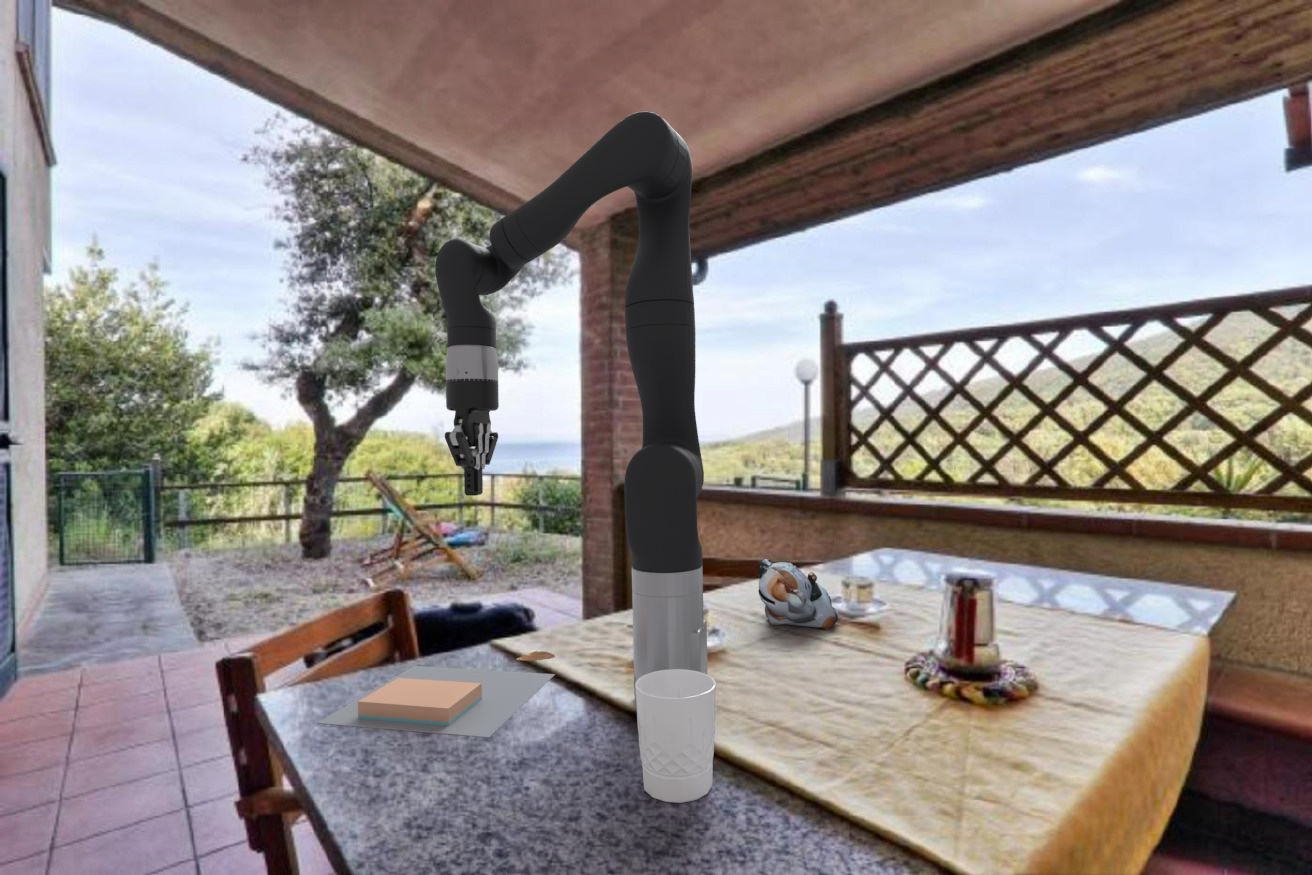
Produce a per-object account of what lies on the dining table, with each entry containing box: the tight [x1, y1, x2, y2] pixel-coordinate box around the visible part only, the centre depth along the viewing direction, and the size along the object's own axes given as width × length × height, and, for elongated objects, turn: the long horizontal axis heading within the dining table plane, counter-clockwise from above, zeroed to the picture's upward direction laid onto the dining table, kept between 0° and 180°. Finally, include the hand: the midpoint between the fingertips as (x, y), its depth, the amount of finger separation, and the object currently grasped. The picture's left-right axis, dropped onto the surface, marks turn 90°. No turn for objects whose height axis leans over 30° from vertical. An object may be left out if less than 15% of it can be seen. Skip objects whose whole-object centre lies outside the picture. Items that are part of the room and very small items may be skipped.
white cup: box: [635, 669, 717, 804], centre depth 65 cm, size 8×8×10 cm
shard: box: [516, 650, 556, 662], centre depth 100 cm, size 11×8×2 cm
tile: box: [358, 678, 482, 726], centre depth 82 cm, size 12×2×8 cm
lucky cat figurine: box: [757, 558, 842, 631], centre depth 120 cm, size 15×12×14 cm
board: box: [317, 665, 556, 738], centre depth 86 cm, size 22×20×1 cm
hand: (473, 494), depth 99 cm, fingers closed
